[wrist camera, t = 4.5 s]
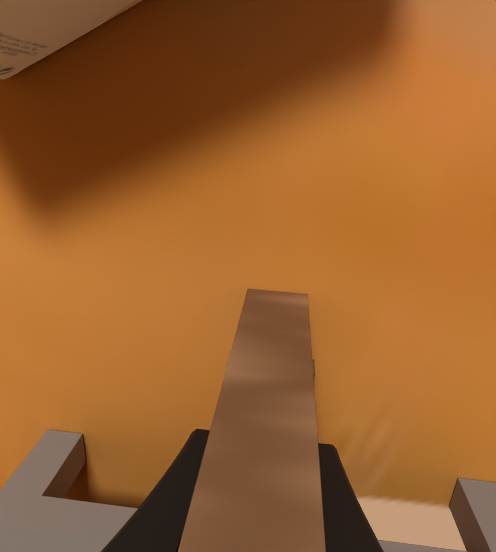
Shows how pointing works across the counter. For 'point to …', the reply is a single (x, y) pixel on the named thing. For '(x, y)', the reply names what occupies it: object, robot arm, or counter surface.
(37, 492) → the u-shaped block
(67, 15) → the skincare box
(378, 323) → the counter surface
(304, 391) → the brown piece
